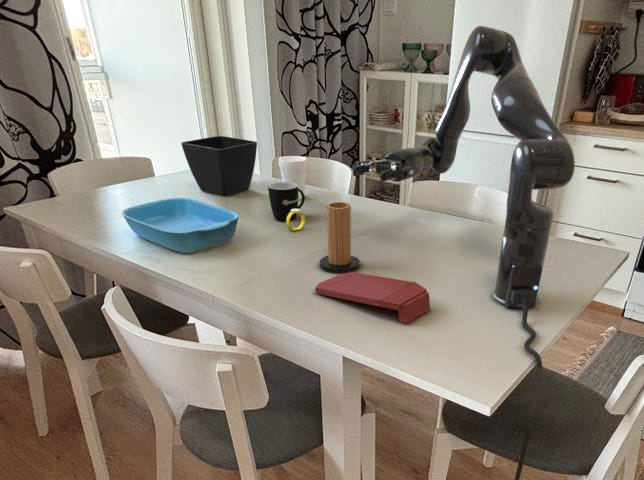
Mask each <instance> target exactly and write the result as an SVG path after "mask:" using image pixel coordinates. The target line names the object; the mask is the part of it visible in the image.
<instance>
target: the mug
mask: <svg viewBox="0 0 644 480" xmlns="http://www.w3.org/2000/svg"><path fill="white" fill-rule="evenodd" d="M267 190H268V197H269V203H270V208H271V211H272V215H273V218H274V219H275V220H276V221H278V222H285V223H286V219H287V216H288V214H289V213H290V212H291V209H300V210H301V208H302V207H303V206H304V203H305V192H304V193H303V192H302V191H301V190H300V189H298V185H297V184H295V183H290V182H283V181H280V182H279V181H277V182H272V183H270V184H268V187H267ZM298 191H299V192H300V193H301V195H302V199H301V201H300V203H299V199H298ZM297 215H298V213H294V214H293V215H292V216H291V218H290V222H292V221H295V220H296V218H297Z"/></svg>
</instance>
